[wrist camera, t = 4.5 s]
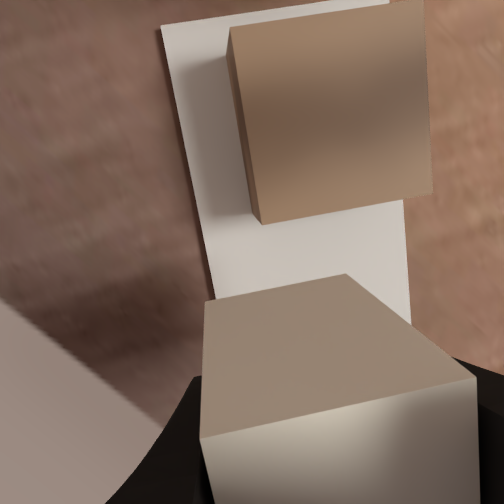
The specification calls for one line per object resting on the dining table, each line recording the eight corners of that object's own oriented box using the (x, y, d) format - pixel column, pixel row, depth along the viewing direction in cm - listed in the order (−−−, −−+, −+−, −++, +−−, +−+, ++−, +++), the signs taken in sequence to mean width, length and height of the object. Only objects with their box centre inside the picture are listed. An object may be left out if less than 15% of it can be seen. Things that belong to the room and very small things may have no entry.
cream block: (360, 396, 13) (482, 585, 7) (231, 425, 13) (249, 647, 7) (345, 273, 12) (476, 377, 6) (205, 301, 12) (198, 439, 6)
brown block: (391, 188, 18) (433, 193, 15) (252, 213, 18) (262, 225, 15) (380, 31, 17) (423, -2, 13) (225, 55, 16) (229, 27, 13)
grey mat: (407, 321, 21) (411, 324, 20) (228, 359, 20) (229, 362, 20) (384, -4, 17) (388, -8, 16) (161, 28, 16) (160, 25, 16)
